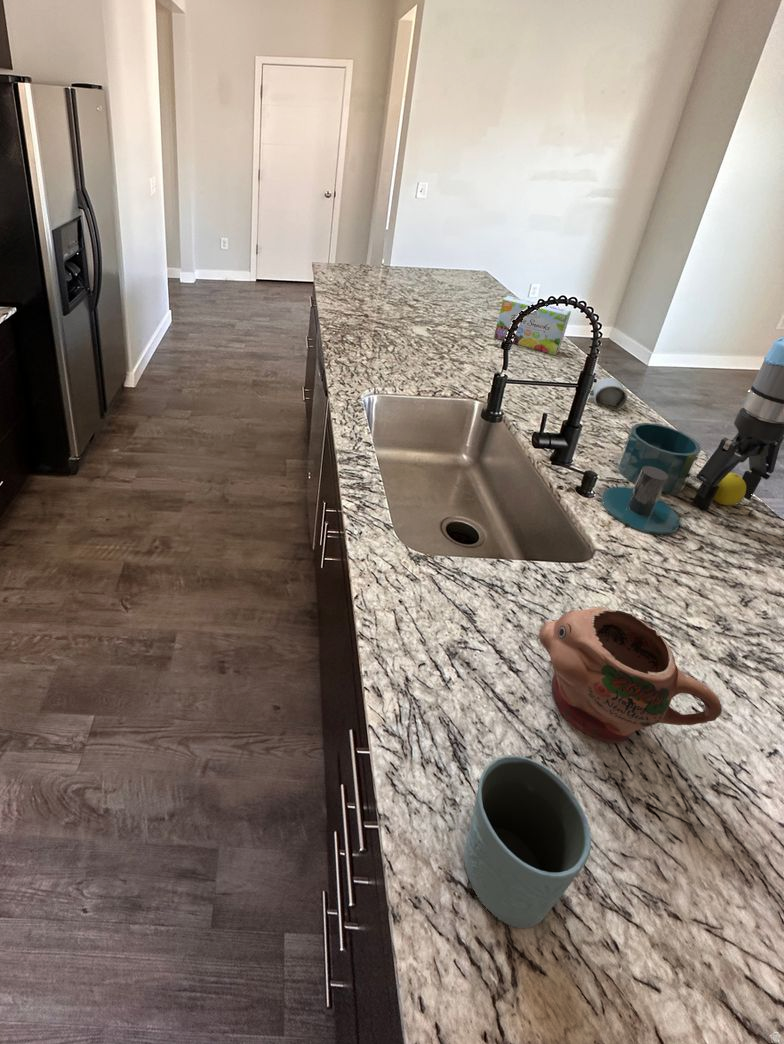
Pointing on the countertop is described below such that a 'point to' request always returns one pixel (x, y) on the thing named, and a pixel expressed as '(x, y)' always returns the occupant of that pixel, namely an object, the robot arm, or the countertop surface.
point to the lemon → (730, 490)
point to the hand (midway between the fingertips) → (720, 503)
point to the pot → (659, 454)
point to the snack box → (533, 325)
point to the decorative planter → (617, 675)
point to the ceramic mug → (609, 393)
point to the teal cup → (524, 840)
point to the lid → (642, 504)
